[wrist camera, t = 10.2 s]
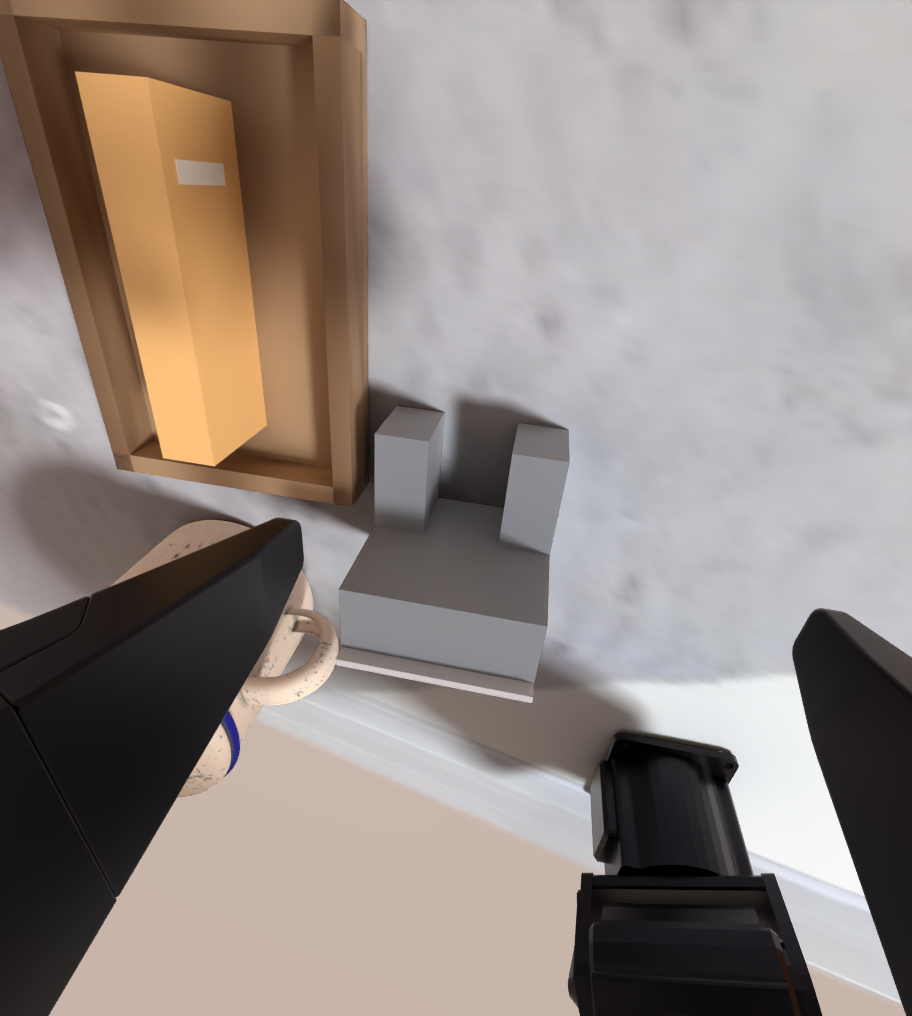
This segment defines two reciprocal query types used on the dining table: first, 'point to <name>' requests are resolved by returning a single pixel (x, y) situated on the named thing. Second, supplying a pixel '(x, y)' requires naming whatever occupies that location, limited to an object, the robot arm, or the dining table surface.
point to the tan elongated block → (180, 257)
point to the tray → (266, 207)
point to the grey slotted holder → (454, 565)
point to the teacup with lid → (265, 675)
